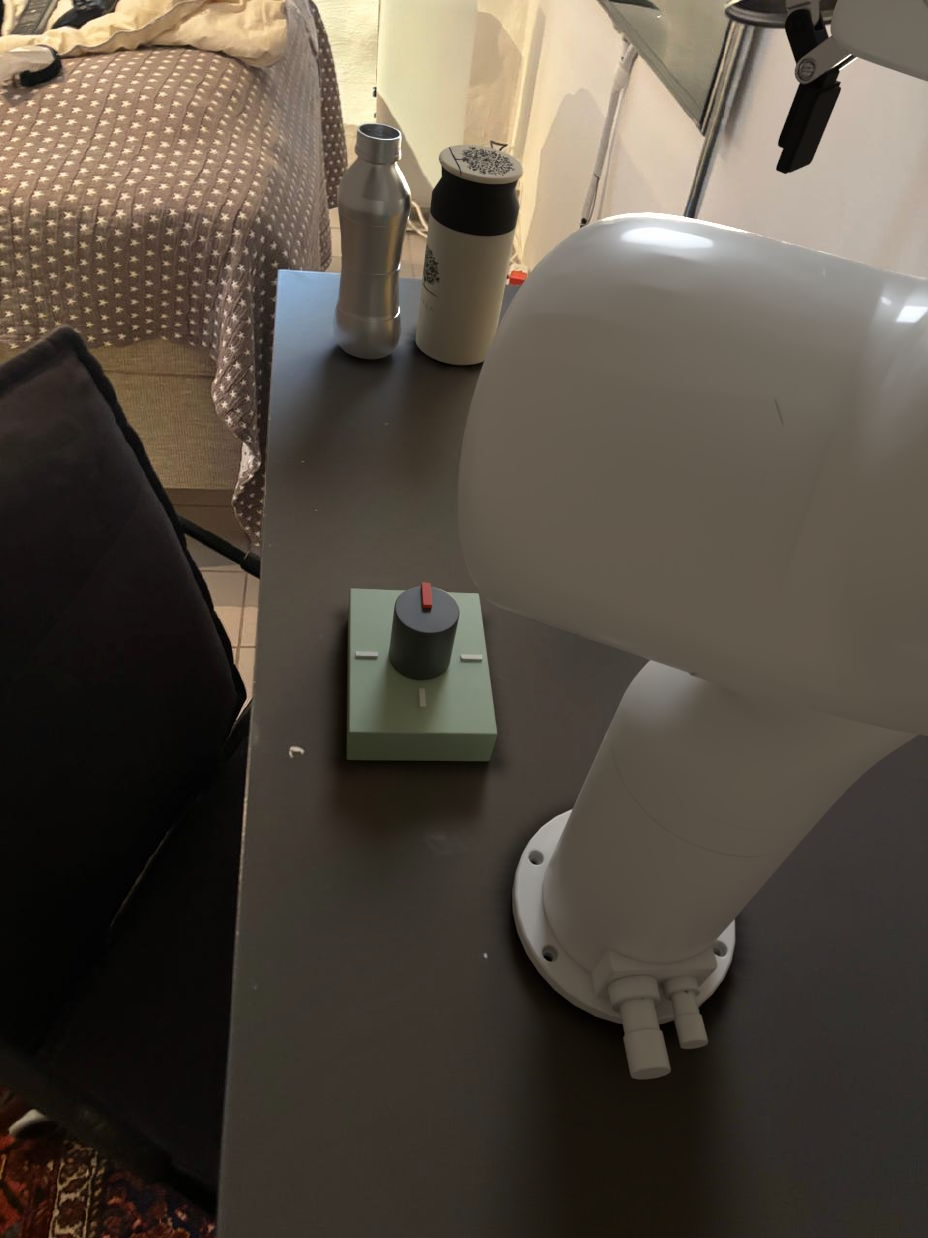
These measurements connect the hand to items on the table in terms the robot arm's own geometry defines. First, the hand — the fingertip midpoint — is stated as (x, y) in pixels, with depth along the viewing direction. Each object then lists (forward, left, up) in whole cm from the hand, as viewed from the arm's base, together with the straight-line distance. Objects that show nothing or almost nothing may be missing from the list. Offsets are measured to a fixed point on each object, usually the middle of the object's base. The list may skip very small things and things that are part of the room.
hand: (876, 201), depth 45 cm
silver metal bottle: (+34, +24, -31) cm, 52 cm away
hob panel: (-8, +21, -31) cm, 38 cm away
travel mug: (+36, +15, -31) cm, 50 cm away
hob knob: (-8, +21, -28) cm, 36 cm away
